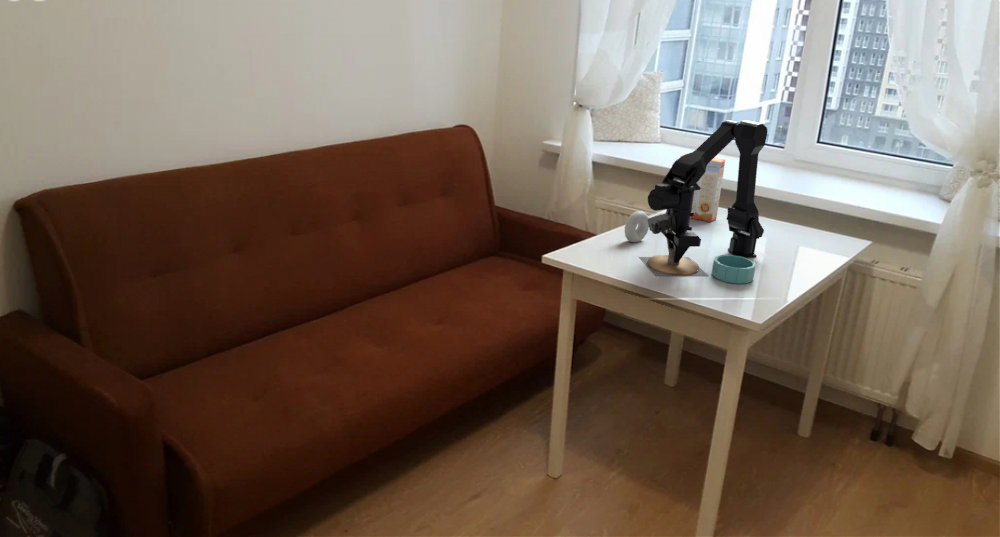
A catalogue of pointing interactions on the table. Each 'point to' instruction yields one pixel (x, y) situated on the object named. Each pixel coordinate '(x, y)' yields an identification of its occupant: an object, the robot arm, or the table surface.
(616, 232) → the table surface
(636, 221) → the donut
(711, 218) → the cracker box
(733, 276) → the bowl
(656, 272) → the mat
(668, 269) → the lid
